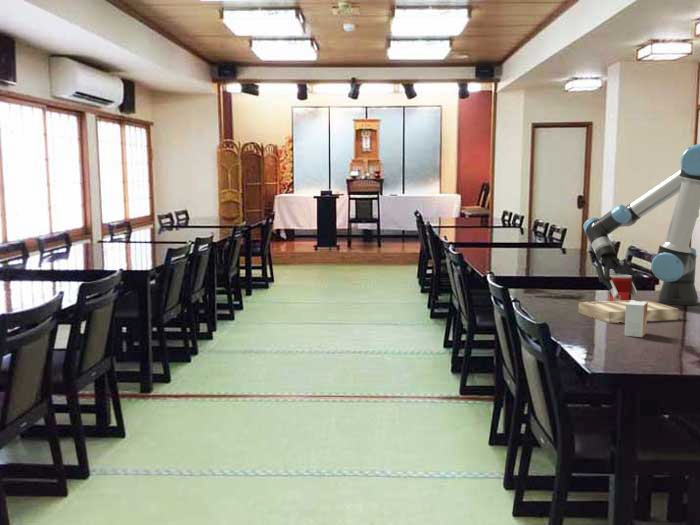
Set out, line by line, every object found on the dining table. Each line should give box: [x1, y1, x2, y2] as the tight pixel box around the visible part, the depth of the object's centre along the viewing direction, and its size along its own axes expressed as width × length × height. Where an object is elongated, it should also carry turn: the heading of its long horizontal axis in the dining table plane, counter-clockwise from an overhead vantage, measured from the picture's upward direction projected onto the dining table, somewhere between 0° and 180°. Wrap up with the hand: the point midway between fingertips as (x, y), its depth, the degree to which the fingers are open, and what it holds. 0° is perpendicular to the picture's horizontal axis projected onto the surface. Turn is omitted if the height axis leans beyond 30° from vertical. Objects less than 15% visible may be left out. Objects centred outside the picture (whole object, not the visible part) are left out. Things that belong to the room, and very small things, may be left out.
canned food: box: [609, 273, 632, 301], centre depth 271 cm, size 8×8×11 cm
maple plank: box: [578, 299, 680, 324], centre depth 253 cm, size 28×20×4 cm
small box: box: [624, 301, 648, 338], centre depth 222 cm, size 8×6×10 cm
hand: (625, 295), depth 268 cm, fingers closed on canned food, 8 cm apart
